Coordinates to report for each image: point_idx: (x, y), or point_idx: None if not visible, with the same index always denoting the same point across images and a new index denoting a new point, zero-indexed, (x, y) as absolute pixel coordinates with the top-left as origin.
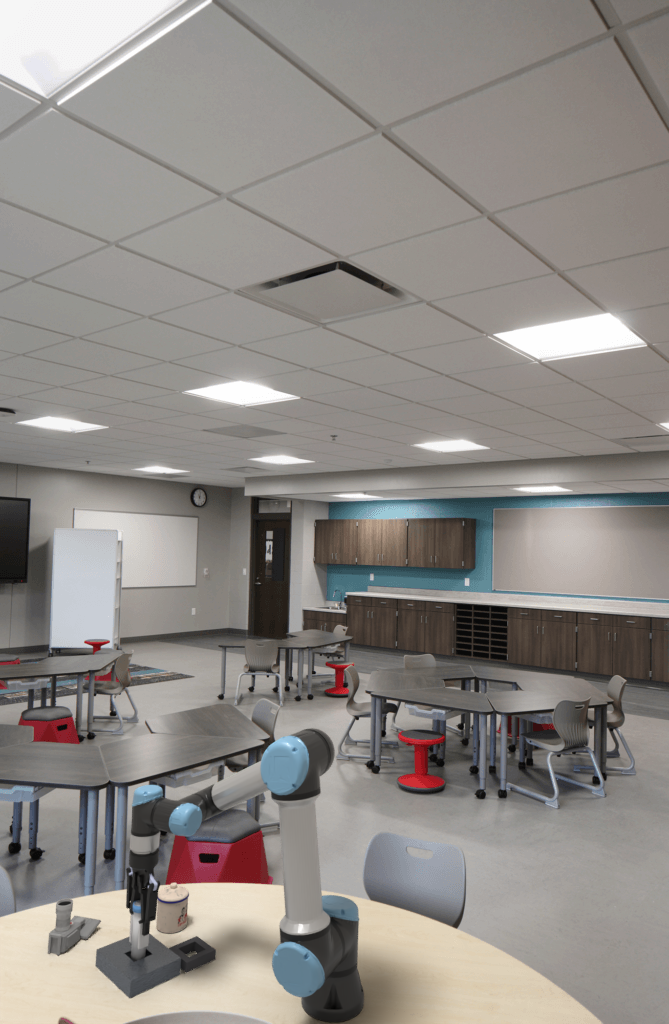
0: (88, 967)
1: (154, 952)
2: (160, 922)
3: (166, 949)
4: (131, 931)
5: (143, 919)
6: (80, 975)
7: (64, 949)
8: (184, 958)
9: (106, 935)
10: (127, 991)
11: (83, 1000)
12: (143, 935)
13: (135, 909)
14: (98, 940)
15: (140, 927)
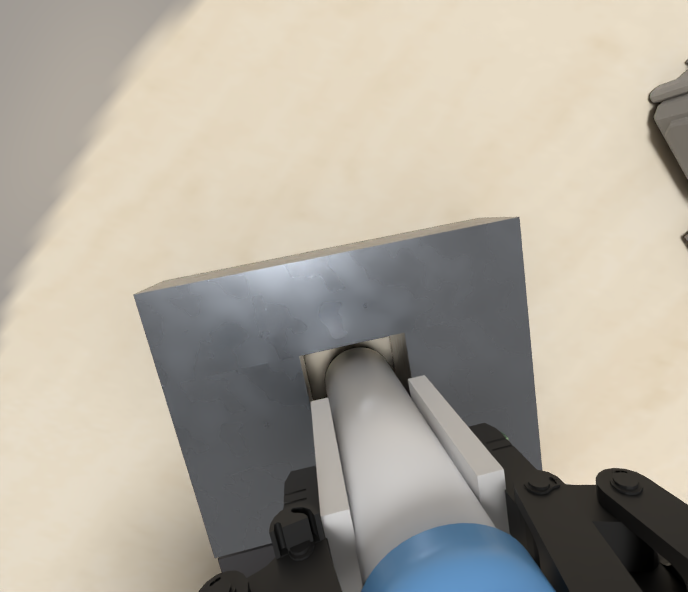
0: (486, 188)
1: None
2: None
3: None
4: (428, 410)
5: (278, 569)
6: (447, 139)
7: (664, 116)
8: (257, 558)
9: (664, 319)
10: (180, 279)
11: (252, 95)
12: (298, 470)
13: (415, 571)
14: (651, 280)
15: (320, 487)
